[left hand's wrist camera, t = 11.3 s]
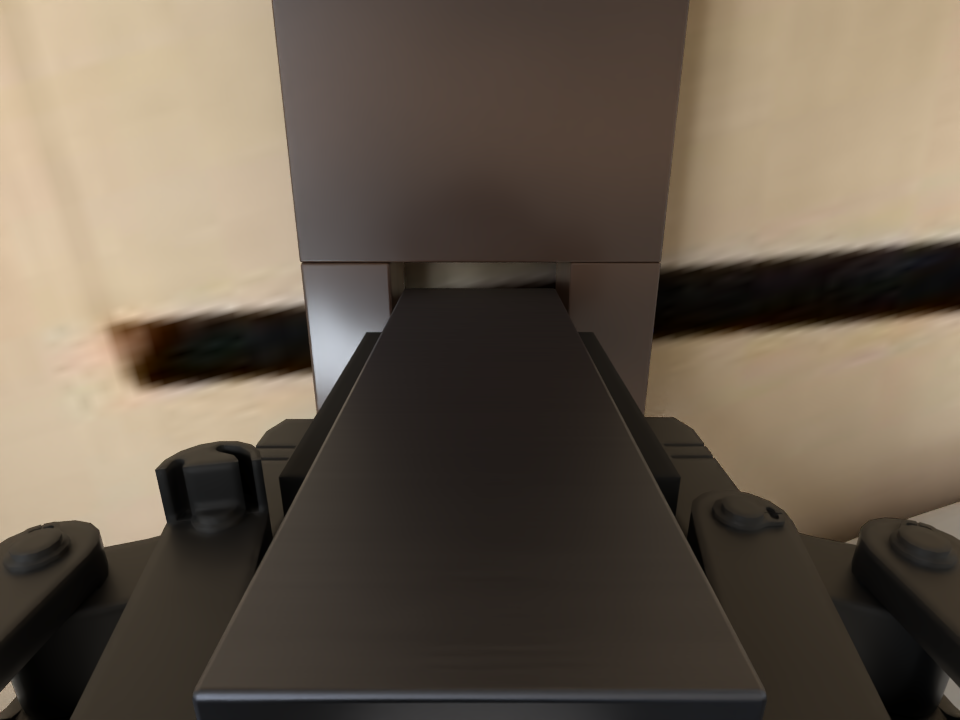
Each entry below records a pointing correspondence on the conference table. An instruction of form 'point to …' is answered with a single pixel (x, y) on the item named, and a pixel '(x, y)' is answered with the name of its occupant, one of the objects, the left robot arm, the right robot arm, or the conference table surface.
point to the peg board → (480, 155)
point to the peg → (479, 546)
